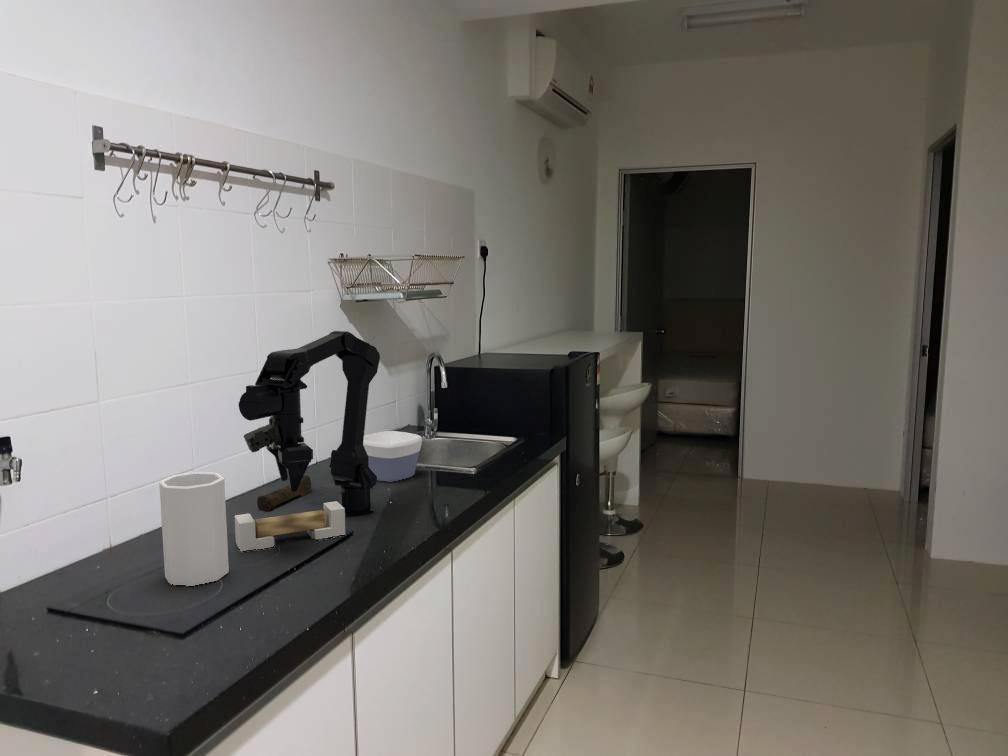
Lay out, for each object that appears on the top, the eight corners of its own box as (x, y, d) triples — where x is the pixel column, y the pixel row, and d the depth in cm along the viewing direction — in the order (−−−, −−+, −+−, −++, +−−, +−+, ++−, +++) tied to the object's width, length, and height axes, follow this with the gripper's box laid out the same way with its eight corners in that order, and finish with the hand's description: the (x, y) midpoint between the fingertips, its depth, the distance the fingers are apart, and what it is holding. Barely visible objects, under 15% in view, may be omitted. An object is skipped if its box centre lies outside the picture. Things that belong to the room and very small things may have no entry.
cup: (190, 592, 136) (184, 491, 133) (151, 579, 142) (145, 481, 139) (241, 571, 145) (237, 476, 143) (203, 560, 151) (198, 468, 149)
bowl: (390, 466, 224) (389, 429, 223) (430, 474, 215) (429, 435, 214) (350, 477, 212) (349, 438, 210) (391, 487, 203) (390, 445, 201)
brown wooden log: (269, 513, 181) (269, 494, 181) (256, 510, 183) (255, 492, 182) (319, 492, 199) (319, 475, 198) (307, 490, 200) (306, 473, 200)
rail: (322, 532, 168) (321, 509, 167) (325, 536, 165) (325, 513, 164) (255, 542, 161) (254, 519, 160) (258, 547, 158) (257, 523, 158)
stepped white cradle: (337, 526, 171) (336, 500, 170) (345, 536, 165) (345, 509, 164) (235, 542, 161) (234, 515, 160) (241, 553, 155) (239, 524, 154)
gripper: (238, 408, 164) (241, 480, 166) (254, 423, 147) (257, 502, 149) (291, 404, 169) (293, 473, 171) (312, 418, 152) (315, 495, 155)
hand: (289, 485), depth 161 cm, fingers open, 9 cm apart
